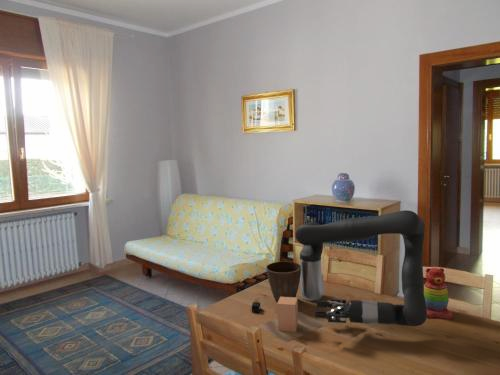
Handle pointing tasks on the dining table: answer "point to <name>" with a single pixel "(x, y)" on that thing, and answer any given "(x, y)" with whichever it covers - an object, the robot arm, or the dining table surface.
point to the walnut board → (304, 327)
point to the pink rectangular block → (287, 314)
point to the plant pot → (284, 278)
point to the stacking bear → (436, 294)
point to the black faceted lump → (256, 307)
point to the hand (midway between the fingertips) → (316, 308)
